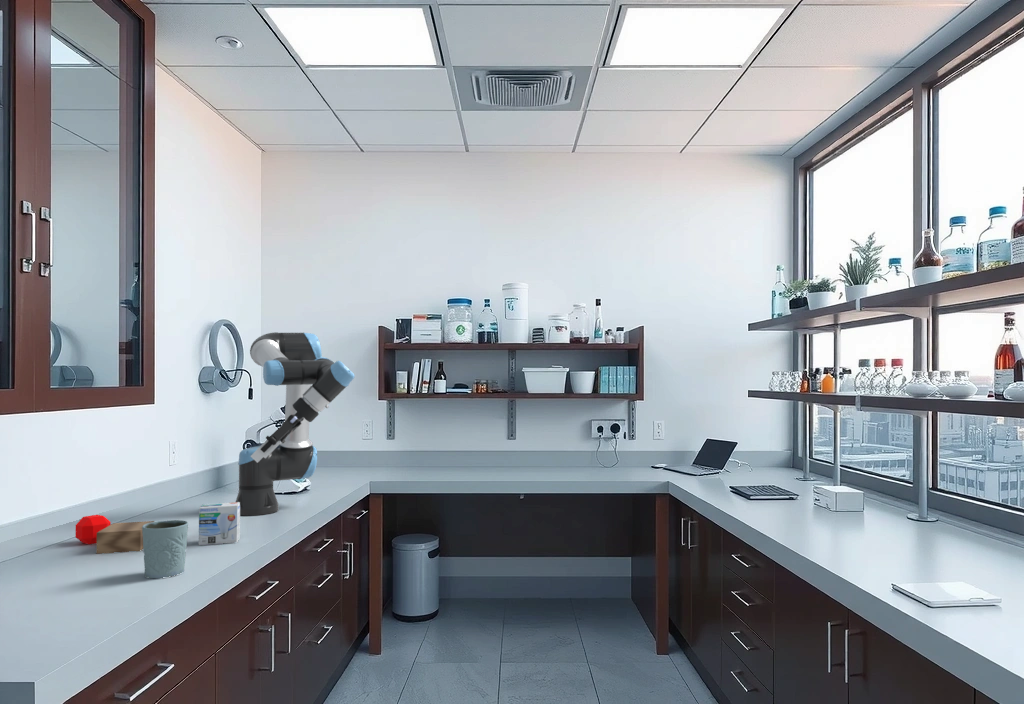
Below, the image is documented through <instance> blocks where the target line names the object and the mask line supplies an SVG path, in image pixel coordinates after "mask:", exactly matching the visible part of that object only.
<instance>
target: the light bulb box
mask: <svg viewBox="0 0 1024 704" xmlns="http://www.w3.org/2000/svg"><path fill="white" fill-rule="evenodd" d="M240 527H241V515H240V502H236V501H235V502H222V503H220V502H219V503H203V504H201V505H200V507H199V509H198V546H205V545H206V546H207V545H220V544H221V545H222V544H223V543H227V544H235V543H234V542H237V543H238V542H239V541H238V540H240V538H241V528H240ZM223 545H224V544H223Z"/></svg>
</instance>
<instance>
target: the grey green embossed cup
mask: <svg viewBox="0 0 1024 704" xmlns="http://www.w3.org/2000/svg"><path fill="white" fill-rule="evenodd" d="M188 529H189V521H187V520H181V519H178V520H177V519H172V520H171V519H169V520H168V519H167V520H160V521H159V520H158V521H154V522H151V523H147V524H145V525H143V526H142V533H143V565H144V577H145V576H146V577H149V578H148V579H150V578H162V579H164V578H163V577H169V576H174V575H177V574H180V573H182V572H184V573H185V563H186V556H187V555H186V554H187V553H186V550H187V543H188V531H189V530H188ZM146 577H145V578H146ZM174 577H175V576H174ZM169 578H170V577H169Z"/></svg>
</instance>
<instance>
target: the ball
mask: <svg viewBox="0 0 1024 704" xmlns="http://www.w3.org/2000/svg"><path fill="white" fill-rule="evenodd" d="M111 523H112V522H111V521H110V520H109V519H108V518H107V517H106V516H104V515H101V514H93V515H86V516H82V517H81V519H80V520H79V521H78V522H77V523H76V524H75V532H74V533H75V535H74V536H75V538H76V539H77V540H78V541H80V542H81V543H82V544H84V545H85V544H86V545H95V544H97V532H99V531H101V530H102V529H104V528H106V527H108V526H109V525H111Z"/></svg>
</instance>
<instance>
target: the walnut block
mask: <svg viewBox="0 0 1024 704" xmlns="http://www.w3.org/2000/svg"><path fill="white" fill-rule="evenodd" d="M151 522H155V520H150V521H149V520H147V521H146V520H145V521H131V522H129V521H128V522H127V521H126V522H113V523H112V524H111V525H109V526H108V527H106V528H104V529H102V530H101V531H99V532H97V543H96V554H97V555H100V554H101V555H103V554H102V553H104V554H115V553H114V552H120V553H130V552H129V551H136V552H141V551H142V549H143V533H142V526H143V525H145V524H147V523H151ZM140 550H141V551H140Z"/></svg>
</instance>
